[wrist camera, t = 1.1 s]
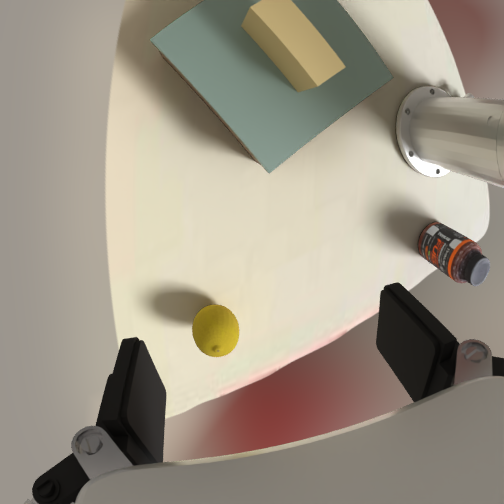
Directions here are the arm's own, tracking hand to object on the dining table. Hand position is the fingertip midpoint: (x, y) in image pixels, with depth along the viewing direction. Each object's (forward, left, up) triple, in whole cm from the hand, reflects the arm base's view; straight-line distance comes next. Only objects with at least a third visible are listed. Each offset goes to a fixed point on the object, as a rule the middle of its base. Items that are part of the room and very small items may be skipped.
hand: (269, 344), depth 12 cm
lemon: (+11, +11, -26) cm, 30 cm away
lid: (-13, -8, -20) cm, 25 cm away
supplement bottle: (-19, +25, -26) cm, 41 cm away
